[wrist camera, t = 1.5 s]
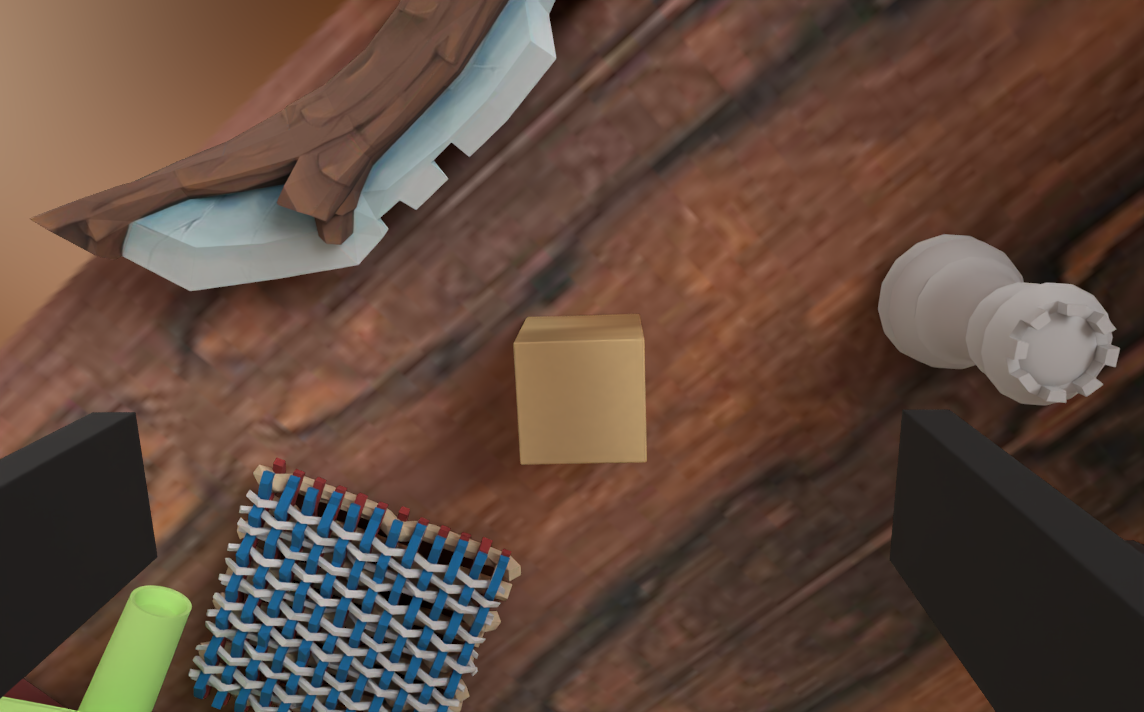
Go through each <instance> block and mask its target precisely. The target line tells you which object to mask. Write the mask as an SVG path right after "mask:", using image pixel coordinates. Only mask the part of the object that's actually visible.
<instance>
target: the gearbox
mask: <svg viewBox="0 0 1144 712" xmlns="http://www.w3.org/2000/svg"><path fill="white" fill-rule="evenodd" d="M191 609H192V605H191V602H190V601H189V599H188V598H187V597H186V596H184V595H183V594H181V593H179V592H178V591H175V590H173V589H170V588H166V587H162V586H142V587H139V588H136V589H135V590H133V591H132V593H131V595H130V597H129V599H128V601H127V603H126V606H125V608H124V610H123V612H122V614H121V617H120V619H119V621H118V623H117V625H116V628H115V630H114V632H113V634H112V636H111V639H110V641H109V643H108V645H107V647H106V650H105V652H104V654H103V656H102V658H101V661H100V663H99V665H98V667H97V669H96V672H95V674H94V676H93V678H92V680H91V683H90V685H89V687H88V689H87V691H86V694H85V696H84V698H83V700H82V702H81V705H80V707H79V709H78V711H76V710H71V709H66V708H61V707H56V706H50V705H45V704H40V703H35V702H29V701H24V700H18V699H13V698H7V697H2V698H1V699H0V712H152V710H153V708H154V705H155V702H156V700H157V697H158V695H159V692H160V689H161V687H162V684H163V681H164V679H165V676H166V674H167V671H168V668H169V666H170V663H171V661H172V658H173V655H174V653H175V650H176V647H177V645H178V642H179V640H180V637H181V634H182V632H183V629H184V627H185V624H186V621H187V619H188V616H189V614H190V611H191Z"/></svg>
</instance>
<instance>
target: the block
mask: <svg viewBox="0 0 1144 712" xmlns="http://www.w3.org/2000/svg"><path fill="white" fill-rule="evenodd" d="M513 350H514V367H515V384H516V401H517V418H518V435H519V452H520V463H521V465H536V464H585V463H633V462H646V461H647V449H646V397H645V345H644V335H643V330H642V324H641V319H640V315H639V314H613V315H581V316H548V317H527V318H526V319H525V321H524V323H523V325H522V327H521V329H520V331H519V333H518V335H517V337H516V339H515V341H514V343H513Z"/></svg>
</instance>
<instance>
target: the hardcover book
mask: <svg viewBox="0 0 1144 712" xmlns="http://www.w3.org/2000/svg"><path fill="white" fill-rule="evenodd" d="M3 697H7V698H13V699H18V700H24V701H29V702H35V703H40V704H45V705H50V706H56V707H61V708H65V707H63V706H62V705H60V704H59V703H58V702H56V701H55V700H53V699H52V698H50V697H49V696H48V695H46V694H45V693H43V692H42V691H40V690H39V689H38V688H36V687H35V686H33V685H32V684H30V683H29V682H28V681H26V680H25V679H22V680H20V681H19V682H18V683H17V684H16V685H15V686H14V687H13V688H12V689H11V690H9V691H8V692H7V693H6V694H5V695H4V696H3Z"/></svg>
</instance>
